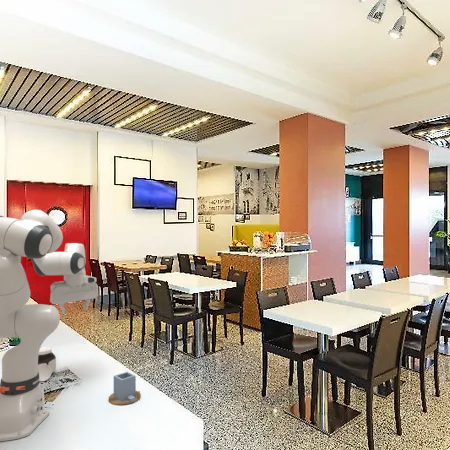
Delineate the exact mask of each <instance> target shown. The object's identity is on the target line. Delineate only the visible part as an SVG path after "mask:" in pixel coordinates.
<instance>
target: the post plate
mask: <svg viewBox="0 0 450 450" xmlns="http://www.w3.org/2000/svg"><path fill="white" fill-rule="evenodd" d="M141 395H142V394H141V392H140V390H139V391H138V390H136V397H135V401H133V402H129V401H128V400H125V401H120V400H118V399H117V398H115V397H114V392H113V393H111V394H110V395H109V396H108V403H110V404H111V405H114V406H127V405H131V404H134V403H137V402H138V401H140V399H141Z"/></svg>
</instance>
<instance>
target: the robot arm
mask: <svg viewBox="0 0 450 450" xmlns="http://www.w3.org/2000/svg"><path fill="white" fill-rule="evenodd" d="M63 239H64V235H63V232H62V229H61V228H60V226H59V225H58V224H57V222H55V220H54V219H53V218H52V217H51V216H50V215H49V214H48V213H46V212H44V211H43V210H41V209H32V210H29V211H26V212H25V213H24V214H22V215H21V217H20V219H19V218H14V217H5V216H4V215H0V339H9V338H11V339H12V338H13V339H14V338H20V343H19V344H16V345H15V346H14V347H12V348H10V349H8V350H7V351H6V352H4V354H3V356H2V359H1V378H0V442H6V441H13V440H18V439H22V438H26V437H28V436H29V435H31V434H32V433H33V432H34V431H35V430H36V428H38V427H39V425H40V424H41V423H42V422H43V421H44V420H45V419H46V418H47V417H48V416H49V415H50V410H49V409H46V406H45V405H46V404H45V391H44V389H43V388H41V386H40V381H39V379H40V377H39V373H38V355H39V350H40V348H41V347H42V345H43V344H44V342H45V340H47V338H48V337H49V336H50V335H51V334H53V333H54V332H55V331H56V330H57V329H58V327H59V324H60V322H61V321H60V320H61V317H60V316H61V315H60V312H59V310H58V308H57V307H56V306H54V305H58V306H59V308H60V309H61V314H63V315H64V314H67V313H68V310H67V308H65V307H64V306H65V304H67V303H73V302H81V301H85V304H84V305H82V307H83V308H82V309H83V310H84V311H88V310H89V306H90V303H91V300H94V299H97V298H98V297H99V286H98V284H97V282H98V281H97V277H94V276H91V275H88V274H87V273H86V268H85V266H86V263H87V262H86V249H85V245H84V244H83V243H82V242H81V243H80V242H67V243H65V245H64V251H57V250H58V249H59V248H60V246H61V245H62V244H63ZM22 257H25V258H28V259H29V260H30V261H31V263H32V266H33V269H34V271H35V273H36V274H37V275H38V276H40V277H45V276H46V277H47V276H63V280H62V281H61V280H60V281H54V282H53V283H51V284H50V286H49V287H50V290H49V291H50V297H49V303H51V305H50V304H44V303H43V304H42V303H32V304H31V303H30V304H27V303H28V302H29V300H30V298H31V293H32V292H31V289H30V284H29V281H28V278H27V274H26V271H25V268H24V267H23V265H22V263H21V262H22Z"/></svg>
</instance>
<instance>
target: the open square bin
mask: <svg viewBox="0 0 450 450" xmlns="http://www.w3.org/2000/svg"><path fill="white" fill-rule="evenodd" d="M136 378H137V376H136V375H135V374H133V373H131V372H130V371H124V372H122V373H118V374H116V375H113V393H114V397H115V398H117V399H118V400H120V401H125V400H128V401H129V402H133V401H135V397H136V391H137V389H136V388H137V387H136V386H137V384H136V381H137V380H136Z"/></svg>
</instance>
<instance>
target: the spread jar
mask: <svg viewBox="0 0 450 450" xmlns="http://www.w3.org/2000/svg"><path fill="white" fill-rule="evenodd" d="M52 349H53V348H52V347H49V346H43V347H42V346H41V347H40V350H39V355H38V373H39V377H40V379H39V382H46V381H48V380H49V378H51V376H53V374H54V373H55V372H56V369H57V358H56V354H55V353H53V352H52Z"/></svg>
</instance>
